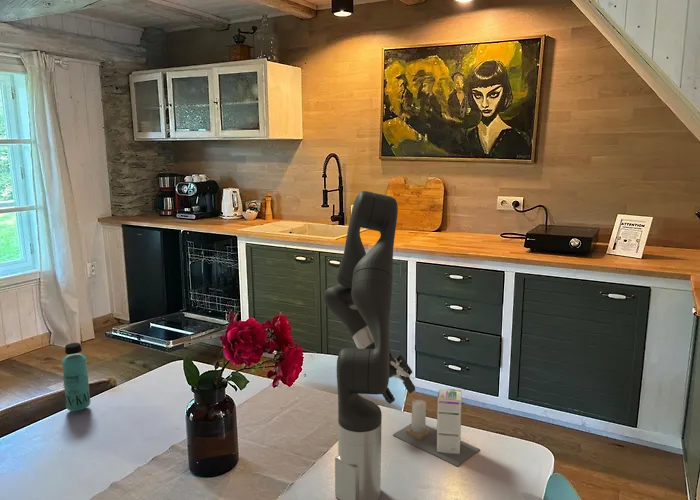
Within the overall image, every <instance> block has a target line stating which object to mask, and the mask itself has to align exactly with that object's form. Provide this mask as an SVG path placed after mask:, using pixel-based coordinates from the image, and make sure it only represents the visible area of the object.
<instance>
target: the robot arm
mask: <svg viewBox="0 0 700 500" xmlns="http://www.w3.org/2000/svg"><path fill="white" fill-rule="evenodd" d="M398 210H399V208H398V201H397V200H396V198H395V197H392V196H389V195H385V194H380V193H376V192H373V191H366V190H361V191H359V193H357V195H356V197H355V199H354V202H353V206H352V209H351V213H350V218H349V223H348V228H347V233H346V238H345V245H344V249H343V250H344V251H343V255H342V258H341V261H340V264H339V267H338V270H337V273H336V280H337V283H338V284H336V285H334V286H330V287H329V288H327V289H326V290H325V291H324V296H323V299H324V303H325V305H326V308H328V310H329V311H330V312H331V313H332V314H333V315H334V316H335V317H336V318H337V319H338V320H339V321H340V322H341V323H342V324H343V325H344V327H346V329H347V331H348V332H349V334H350V336H351V338H352V340H353V341H354V343H355V345H356V347H345V348H342V349H341V350H340V351H339V353H338V356H337V360H336V383H337V384H336V385H337V387H336V388H337V401H338V402H337V407H338V408H337V409H338V410H337V412H338V417H337V419H338V420H337V421H338V422H337V425H338V427H337V429H338V431H337V432H338V433H337V434H338V435H337V440H338V441H337V442H338V443H337V445H338V446H337V447H338V448H337V450H338V451H337V452H338V454H337V456H335V457H334V486H335V487H334V492H335V493H334V497H335V498H337V499H338V500H379V499H380V498H381V489H382V488H381V486H382V485H381V484H382V483H381V481H382V480H381V479H382V477H381V475H382V473H381V472H382V413H383V412H382V410H381V407H380V406H379V405H378V404H376V403H375V402H373V401H372V400H369V399H368V398H365V397H363V396H361V395H382V397H383V398H384V400H385V401H386V402H387V403H388V404H389V405H390V404H392V403H393V402H395V400H396V398H395V397H394V395H393V393H392V392H391V390H390V388H389V382H390V381H389V380H390V379H391V378H395V379H399V380H400V381H401V382H402V384H403V385H404V387H405V389H406V391H407V393H409V394H412V393H414V392H415V391H416V386H415V385H414V382H412V380H411V377H410V376H411V375H412V374H413V370H412V368H411V367H410V366H409V364H408V362H407V361H406V360H405V358H404V357H403V355H402V354H399V355H398V356H396V357H395V358H394V356H392V350H391V348H390V317H391V316H390V315H391V308H392V307H391V305H392V295H393V274H394V273H393V272H394V271H393V267H394V266H393V265H394V262H393V261H394V245H395V237H396V229H397V222H398V214H399V213H398V212H399V211H398ZM361 228H362V229H366V230H369V231H375V232H379V233H380V237H379V238H378V240H377V241H376V243H375V244H374V245H373V247H371V249H369V251H367V252H366V249H365V247H364V244H363V242H362V238H361V234H360V233H361ZM352 306H355V308H356V309H354V308H351V307H352Z"/></svg>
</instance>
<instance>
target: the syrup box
mask: <svg viewBox="0 0 700 500" xmlns="http://www.w3.org/2000/svg"><path fill="white" fill-rule="evenodd" d="M436 409H437V410H436V411H437V412H436V413H437V415H436V416H437V417H436V423H437V424H436V430H437V452H442V453H450V454H459V453H460V440H461V439H462V438H461V434H462V433H461V432H462V390H459V389H455V388H454V389H453V388H452V389H451V388H439V389H438V394H437V408H436ZM461 441H462V440H461Z"/></svg>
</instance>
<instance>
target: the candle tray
mask: <svg viewBox="0 0 700 500" xmlns="http://www.w3.org/2000/svg"><path fill="white" fill-rule="evenodd" d="M426 413H427V403H426V401H425V400H422V399H414V400H412V402H411V423H410V424H408V425H406V426H405V427H404V428H402V429H399V430H398V431H396V432H394V433H392V436H393V437H394V438H396V439H398V440H401V441H403V442H405V443H408V444H409V445H412V446H414V447H416V448H418V449H419V450H422V451H424V452H427V453H428V454H430V455H432V456H435V458H438V459H440V460H442V461H444V462H447V463H449V464H451V465H453V466H455V467H459V466H461V465H462V464H463V463H465V462H466V461H468V460H469V459H470V458H471V457H473V456H474V455H476V453H478V452H479V451H480V450H481V449H480V448H479V447H476V446H474V445H472V444H469V443H468V442H466V441H463V440H460V453H459V454H450V453H442V452H437V428H434V427H431V426H429V425H426V417H427V416H426V415H427V414H426Z"/></svg>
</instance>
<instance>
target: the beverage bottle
mask: <svg viewBox="0 0 700 500" xmlns="http://www.w3.org/2000/svg"><path fill="white" fill-rule="evenodd" d="M82 351H83V350H82V344H81V343H79V342H71V343H68V344H66V345H65V347H64V353H65V354H66V356H65V357H63V359H62V360H61V364H62V365H61V366H62V373H63V376H62V379H63V390H64V391H63V392H64V403H65V408H66V409H67V410H68V411H72V412H74V411H75V412H76V411H81V410H83V409H86V408H88V407H89V406H90V404H91V392H90V380H89V373H88V364H87V363H88V362H87V356H85V355H84V354H82V353H81V352H82Z"/></svg>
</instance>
